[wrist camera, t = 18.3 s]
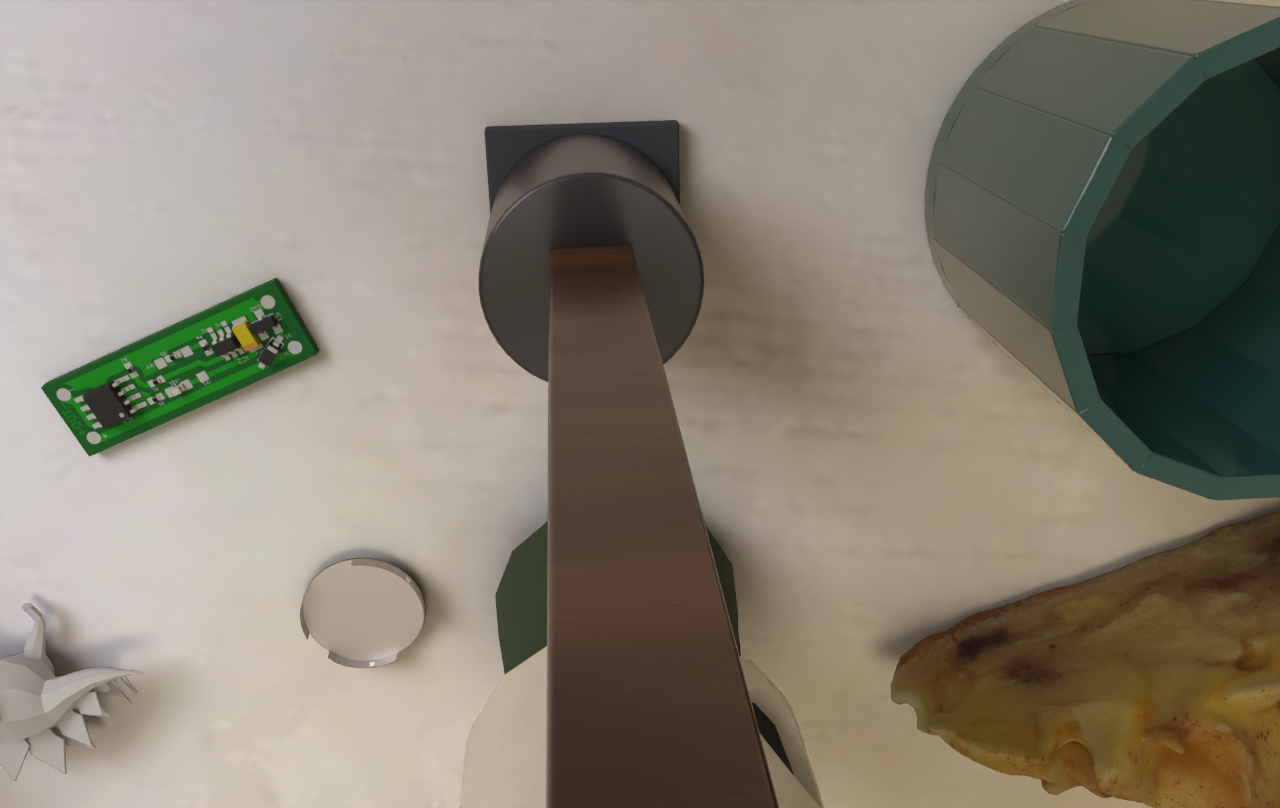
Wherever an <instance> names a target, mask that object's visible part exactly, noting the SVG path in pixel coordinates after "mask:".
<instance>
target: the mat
mask: <svg viewBox="0 0 1280 808" xmlns="http://www.w3.org/2000/svg"><path fill="white" fill-rule="evenodd" d="M577 133H594V134H600V135H607V136H610V137H613V138H616V139H620V140H622V141H624V142H626V143H628V144H630V145H632V146H634V147H635V148H637V149H638V150H640V151H641V152H643V153H644V154H645V155H646V156H647V157H649V158H650V159H651V160H652V161H653V162H654V163H655V164H656V165H657V167H658V168H659V169H660V170H661V172H662V173H663V175H664V176H665V177H666V179H667V181H668V183H669V185H670V187H671V189H672V191H673V193H674V195H675V197H676V199H677V201H678V203H679V205H680V184H679V124H678V122H677V121H676V120H670V121H640V122H611V123H581V124H551V125H521V126H491V127H486V128H485V143H486V158H487V172H488V186H489V201H490V215H491V210H492V206H493V203H494V199H495V196H496V193H497V191H498V188H499V186H500V184H501V182H502V181H503V179H504V177H505V176H506V174H507V173H508V171H509V170H510V169H511V168H512V166H513V165H514V164H515V163H516V162H517V161H518V160H519V159H520V158H521V157H522V156H523V155H525V154H526V153H527V152H529V151H530V150H531V149H533V148H534V147H536V146H538V145H540V144H542V143H543V142H546V141H548V140H551V139H553V138H556V137H560V136H564V135H568V134H577Z"/></svg>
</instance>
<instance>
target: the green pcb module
mask: <svg viewBox="0 0 1280 808" xmlns="http://www.w3.org/2000/svg"><path fill="white" fill-rule="evenodd" d="M318 351H319V349H318V347H317V346H316V344H315V342H314V341H313V339H312V337H311V335H310V334H309V332H308V330H307V329H306V327H305V325H304V324H303V322H302V320H301V318H300V317H299V315H298V313H297V312H296V310H295V308H294V307H293V305H292V303H291V301H290V300H289V298H288V296H287V295H286V293H285V291H284V290H283V288H282V286H281V284H280V283H279V281H278V279H277V278H275V279H273V280H271V281H268V282H266V283H264V284H262V285H260V286H258V287H255V288H253V289H251V290H249V291H247V292H244V293H242V294H240V295H238V296H236V297H233V298H231V299H229V300H227V301H225V302H222V303H220V304H218V305H216V306H214V307H211V308H209V309H207V310H205V311H203V312H201V313H198V314H196V315H194V316H192V317H190V318H187V319H185V320H183V321H181V322H179V323H176V324H174V325H172V326H170V327H168V328H165V329H163V330H161V331H159V332H157V333H154V334H152V335H150V336H148V337H146V338H144V339H141V340H139V341H137V342H135V343H133V344H130V345H128V346H126V347H124V348H122V349H119V350H117V351H115V352H113V353H111V354H108V355H106V356H104V357H102V358H100V359H97V360H95V361H93V362H91V363H89V364H87V365H84V366H82V367H80V368H78V369H76V370H73V371H71V372H69V373H67V374H65V375H62V376H60V377H58V378H56V379H54V380H51V381H49V382H47V383H45V384H44V385H43V386H42V387H41V388H42V390H43V391H44V393H45V394H46V396H47V397H48V398H49V400H50V401H51V403H52V404H53V406H54V407H55V408H56V410H57V411H58V413H59V414H60V415H61V417H62V418H63V420H64V421H65V423H66V424H67V425H68V427H69V428H70V430H71V431H72V433H73V434H74V435H75V437H76V438H77V440H78V441H79V443H80V444H81V445H82V447H83V448H84V450H85V451H86V453H87V454H88V455H89V456H91V455H94V454H96V453H98V452H100V451H103V450H105V449H107V448H109V447H112V446H114V445H116V444H118V443H120V442H123V441H125V440H127V439H129V438H132V437H134V436H136V435H138V434H141V433H143V432H145V431H147V430H149V429H152V428H154V427H156V426H158V425H161V424H163V423H165V422H167V421H170V420H172V419H174V418H176V417H178V416H181V415H183V414H185V413H187V412H190V411H192V410H194V409H196V408H199V407H201V406H203V405H205V404H207V403H210V402H212V401H214V400H216V399H219V398H221V397H223V396H225V395H228V394H230V393H232V392H234V391H236V390H239V389H241V388H243V387H245V386H248V385H250V384H252V383H254V382H257V381H259V380H261V379H263V378H265V377H268V376H270V375H272V374H274V373H277V372H279V371H281V370H283V369H286V368H288V367H290V366H292V365H295V364H297V363H299V362H301V361H303V360H306V359H308V358H310V357H312V356H315V355H317V353H318Z"/></svg>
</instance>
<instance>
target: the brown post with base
mask: <svg viewBox="0 0 1280 808" xmlns="http://www.w3.org/2000/svg"><path fill="white" fill-rule="evenodd" d="M703 292H704V269H703V262H702V258H701V253H700V250H699V247H698V244H697V241H696V238H695V236H694V234H693V232H692V230H691V228H690V226H689V224H688V222H687V220H686V218H685V216H684V213H683V211H682V209H681V207H680V205H679V203H678V201H677V199H676V197H675V195H674V193H673V191H672V189H671V187H670V185H669V183H668V181H667V179H666V177H665V176H664V175H663V173H662V172H661V170H660V169H659V168H658V167H657V165H656V164H655V163H654V162H653V161H652V160H651V159H650V158H649V157H647V156H646V155H645V154H644V153H643V152H641V151H640V150H638V149H637V148H635V147H634V146H632V145H630V144H628V143H626V142H624V141H622V140H620V139H616V138H613V137H610V136H607V135H600V134H594V133H577V134H568V135H564V136H560V137H556V138H553V139H551V140H548V141H546V142H543V143H542V144H540V145H538V146H536V147H534V148H533V149H531V150H530V151H529V152H527V153H526V154H525V155H523V156H522V157H521V158H520V159H519V160H518V161H517V162H516V163H515V164H514V165H513V166H512V168H511V169H510V170H509V171H508V173H507V174H506V176H505V177H504V179H503V181H502V182H501V184H500V186H499V188H498V191H497V193H496V196H495V199H494V203H493V206H492V210H491V215H490V220H489V224H488V229H487V233H486V238H485V243H484V247H483V252H482V256H481V261H480V269H479V295H480V302H481V306H482V310H483V313H484V317H485V319H486V322H487V324H488V326H489V328H490V331H491V332H492V334H493V336H494V337H495V339H496V341H497V342H498V344H499V345H500V346H501V347H502V349H503V350H504V351H505V352H506V354H507V355H508V356H510V357H511V358H512V359H513V360H514V361H515V362H516V363H517V364H518V365H519V366H521V367H522V368H524V369H525V370H526V371H528V372H529V373H531V374H533V375H534V376H536V377H538V378H540V379H542V380H544V381H547V382H548V561H547V747H546V808H779V805H778V801H777V797H776V793H775V789H774V786H773V782H772V778H771V774H770V770H769V767H768V763H767V759H766V755H765V751H764V748H763V744H762V740H761V736H760V732H759V729H758V725H757V721H756V717H755V713H754V710H753V706H752V702H751V698H750V694H749V690H748V687H747V683H746V679H745V675H744V671H743V668H742V664H741V660H740V656H739V652H738V649H737V645H736V641H735V637H734V633H733V630H732V626H731V622H730V618H729V614H728V610H727V607H726V603H725V599H724V595H723V591H722V588H721V584H720V580H719V576H718V572H717V569H716V565H715V561H714V557H713V553H712V550H711V546H710V542H709V538H708V534H707V531H706V527H705V523H704V519H703V515H702V511H701V508H700V504H699V500H698V496H697V492H696V489H695V485H694V481H693V477H692V473H691V470H690V466H689V462H688V458H687V454H686V451H685V447H684V443H683V439H682V435H681V432H680V428H679V424H678V420H677V416H676V412H675V409H674V405H673V401H672V397H671V393H670V390H669V386H668V382H667V378H666V374H665V371H664V367H663V365H664V364H665V363H666V362H667V361H668V360H669V359H671V358H672V357H673V356H674V354H675V353H676V352H677V351H678V350H679V349H680V348H681V346H682V345H683V344H684V342H685V341H686V339H687V338H688V336H689V335H690V333H691V331H692V329H693V327H694V325H695V323H696V320H697V317H698V314H699V311H700V309H701V304H702V299H703Z"/></svg>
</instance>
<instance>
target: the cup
mask: <svg viewBox="0 0 1280 808" xmlns="http://www.w3.org/2000/svg"><path fill="white" fill-rule="evenodd" d="M925 219H926V227H927V234H928V241H929V245H930V249H931V252H932V256H933V259H934V263H935V265H936V268H937V270H938V272H939V275H940V277H941V279H942V281H943V284H944V285H945V287H946V288H947V290H948V292H949V293H950V295H951V296H952V298H953V300H954V301H955V303H956V304H957V306H958V307H959V308H960V309H961V310H962V311H963V312H964V313H965V314H966V316H967V317H968V318H969V319H970V320H971V321H972V322H973V323H974V324H975V325H977V326H978V327H979V328H980V329H981V330H982V331H983V332H984V333H985V334H986V335H987V336H988V337H989V338H990V339H991V340H992V341H993V342H994V343H995V344H996V345H997V346H998V347H999V348H1000V349H1001V350H1002V351H1003V352H1004V353H1005V354H1006V355H1007V356H1008V357H1009V358H1010V359H1011V360H1012V361H1014V362H1015V363H1016V364H1017V365H1018V366H1019V367H1020V368H1021V369H1022V370H1023V371H1025V372H1026V373H1027V374H1028V375H1029V376H1030V377H1031V378H1032V379H1033V380H1034V381H1035V382H1037V383H1038V384H1039V385H1040V386H1041V387H1042V388H1043V389H1044V390H1045V391H1046V392H1047V393H1049V394H1050V395H1051V396H1052V397H1053V398H1054V399H1055V400H1056V401H1057V402H1058V403H1059V404H1061V405H1062V406H1063V407H1064V408H1065V409H1066V410H1067V411H1068V412H1069V413H1070V414H1071V415H1073V416H1074V417H1075V418H1076V419H1077V420H1078V421H1079V422H1080V423H1081V424H1082V425H1083V426H1085V427H1086V428H1087V429H1088V430H1089V431H1090V432H1091V433H1092V434H1093V435H1094V436H1096V437H1097V438H1098V439H1099V440H1100V441H1101V442H1102V443H1103V444H1104V445H1105V446H1106V447H1108V448H1109V449H1110V450H1111V451H1112V452H1113V453H1114V454H1115V455H1116V456H1117V457H1118V458H1120V459H1121V460H1122V461H1123V462H1124V463H1125V464H1126V465H1127V466H1128V467H1129V468H1130V469H1132V470H1133V471H1135V472H1136V473H1138V474H1141V475H1144V476H1146V477H1149V478H1152V479H1155V480H1158V481H1161V482H1163V483H1166V484H1169V485H1172V486H1175V487H1177V488H1180V489H1183V490H1186V491H1189V492H1192V493H1194V494H1197V495H1200V496H1203V497H1206V498H1208V499H1212V500H1214V499H1215V500H1233V499H1252V498H1271V497H1280V0H1073V1H1070V2H1068V3H1065V4H1063V5H1060V6H1057V7H1055V8H1054V9H1052V10H1050V11H1048V12H1046V13H1044V14H1042V15H1040V16H1039V17H1037V18H1035V19H1033V20H1032V21H1030V22H1029V23H1027V24H1026V25H1025V26H1023V27H1022V28H1020V29H1019V30H1017V31H1016V32H1014V33H1013V34H1012V35H1010V36H1009V37H1008V38H1007V39H1006V40H1005V41H1004V42H1003V43H1001V44H1000V45H999V46H998V47H997V48H996V49H995V50H994V51H992V52H991V53H990V54H989V56H988V57H987V58H986V59H985V60H984V61H983V62H982V63H981V65H980V66H979V67H978V68H977V69H976V70H975V71H974V72H973V74H972V75H971V77H970V78H969V79H968V81H967V82H966V84H965V85H964V87H963V88H962V89H961V91H960V92H959V94H958V95H957V97H956V99H955V101H954V102H953V104H952V106H951V108H950V110H949V112H948V114H947V115H946V117H945V119H944V122H943V124H942V127H941V129H940V132H939V134H938V137H937V140H936V142H935V145H934V149H933V153H932V157H931V161H930V165H929V168H928V176H927V184H926V191H925Z"/></svg>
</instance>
